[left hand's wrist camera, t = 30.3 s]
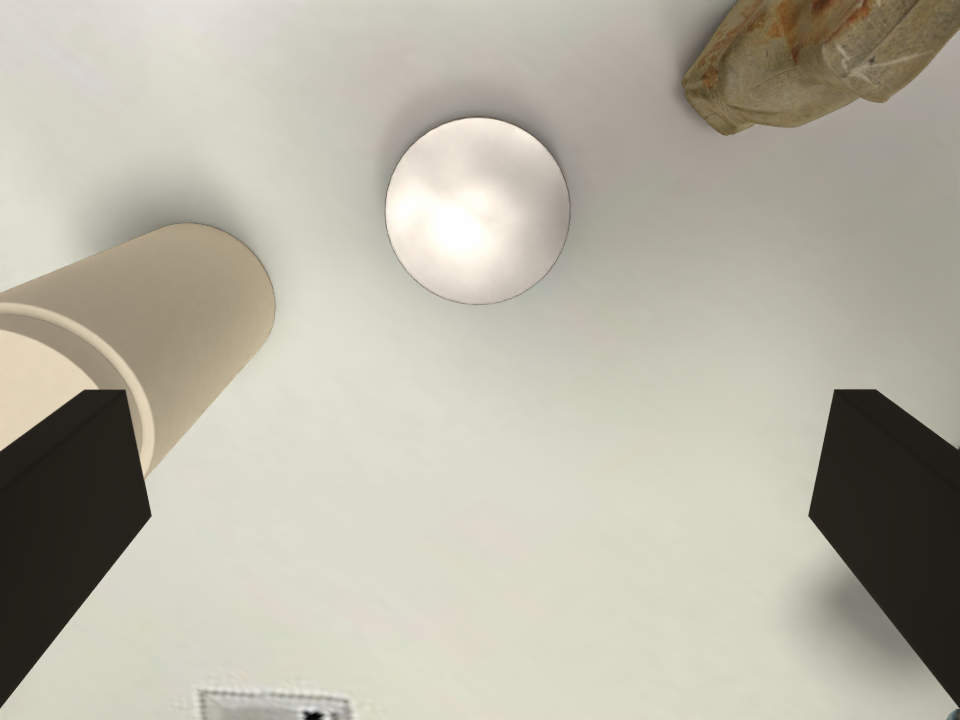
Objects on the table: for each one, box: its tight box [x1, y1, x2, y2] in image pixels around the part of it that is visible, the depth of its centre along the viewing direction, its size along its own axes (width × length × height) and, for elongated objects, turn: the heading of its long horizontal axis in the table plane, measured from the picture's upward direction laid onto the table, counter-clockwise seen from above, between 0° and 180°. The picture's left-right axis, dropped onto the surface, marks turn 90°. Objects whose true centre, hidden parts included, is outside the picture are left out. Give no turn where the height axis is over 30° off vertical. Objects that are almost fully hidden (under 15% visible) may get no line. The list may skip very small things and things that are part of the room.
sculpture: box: [682, 0, 960, 135], centre depth 30 cm, size 6×7×15 cm
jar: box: [0, 223, 275, 480], centre depth 33 cm, size 9×9×18 cm
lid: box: [385, 116, 570, 305], centre depth 39 cm, size 10×10×2 cm
